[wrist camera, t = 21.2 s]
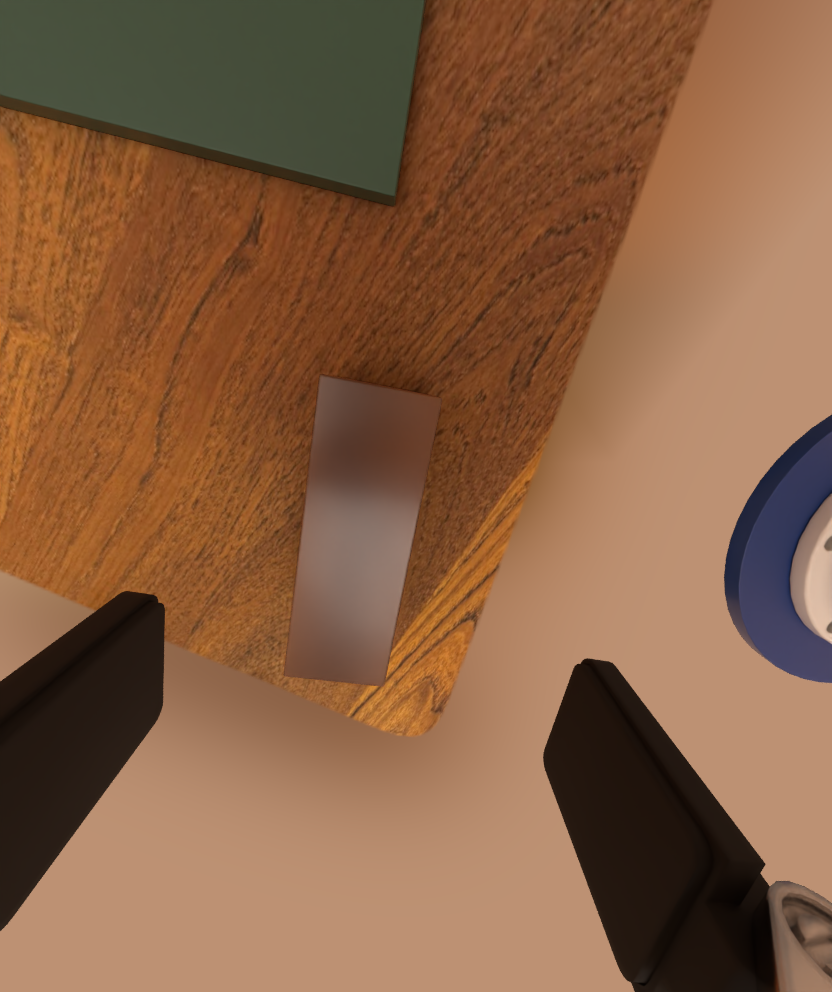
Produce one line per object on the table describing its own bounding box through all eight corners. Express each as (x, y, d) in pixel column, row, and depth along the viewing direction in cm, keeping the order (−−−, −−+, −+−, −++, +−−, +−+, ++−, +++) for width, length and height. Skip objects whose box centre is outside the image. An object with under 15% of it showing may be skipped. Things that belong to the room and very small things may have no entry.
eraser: (428, 394, 19) (442, 398, 14) (385, 617, 23) (384, 687, 18) (338, 376, 19) (319, 373, 14) (308, 607, 22) (283, 676, 17)
